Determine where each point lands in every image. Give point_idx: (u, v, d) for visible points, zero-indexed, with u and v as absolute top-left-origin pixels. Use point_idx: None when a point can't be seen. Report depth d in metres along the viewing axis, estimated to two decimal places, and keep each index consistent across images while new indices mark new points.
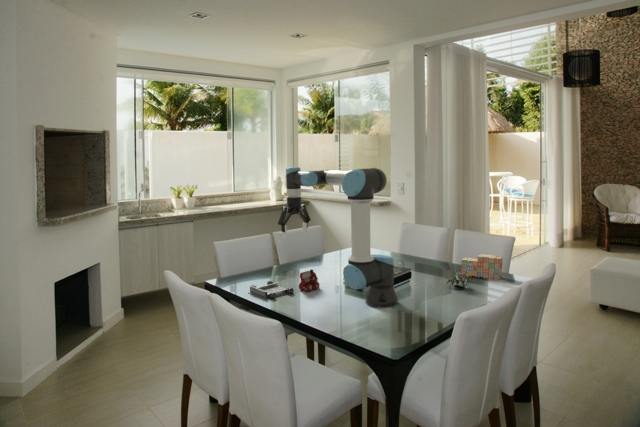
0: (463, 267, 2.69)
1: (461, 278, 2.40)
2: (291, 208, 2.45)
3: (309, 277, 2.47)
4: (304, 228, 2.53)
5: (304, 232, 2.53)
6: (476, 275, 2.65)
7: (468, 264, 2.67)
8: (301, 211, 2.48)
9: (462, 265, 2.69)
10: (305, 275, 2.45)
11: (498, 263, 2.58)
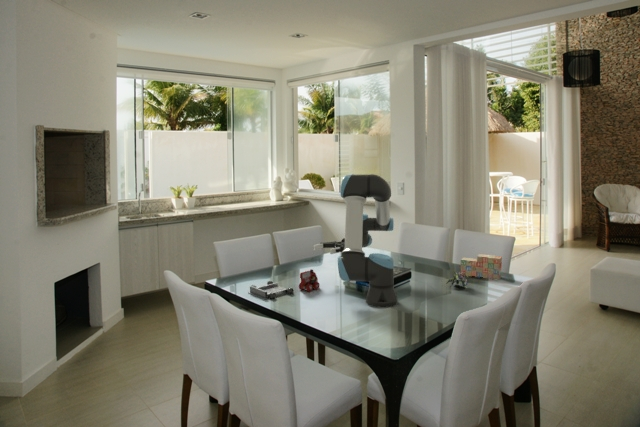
0: (462, 267, 2.69)
1: (461, 278, 2.40)
2: None
3: (309, 277, 2.47)
4: None
5: None
6: (475, 275, 2.65)
7: (468, 264, 2.67)
8: (343, 243, 2.58)
9: (461, 265, 2.69)
10: (305, 275, 2.45)
11: (497, 263, 2.58)
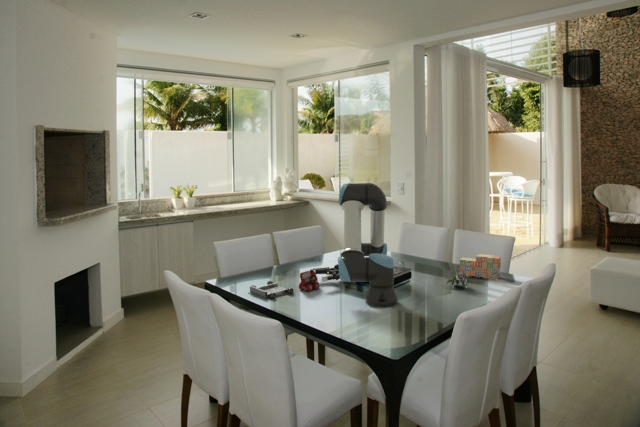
0: (461, 267, 2.69)
1: (461, 278, 2.40)
2: None
3: (309, 277, 2.47)
4: None
5: None
6: (474, 275, 2.66)
7: (467, 264, 2.67)
8: (336, 270, 2.56)
9: (460, 265, 2.69)
10: (305, 275, 2.45)
11: (496, 263, 2.58)
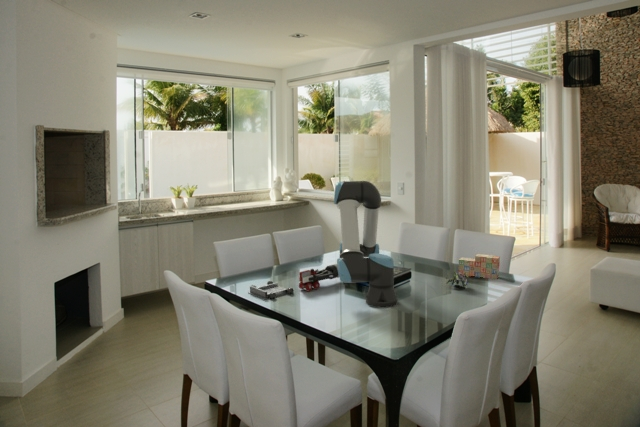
0: (460, 267, 2.69)
1: (461, 278, 2.40)
2: (323, 270, 2.57)
3: None
4: None
5: None
6: (473, 275, 2.66)
7: (466, 264, 2.67)
8: (324, 272, 2.52)
9: (459, 265, 2.69)
10: (305, 274, 2.45)
11: (495, 263, 2.59)
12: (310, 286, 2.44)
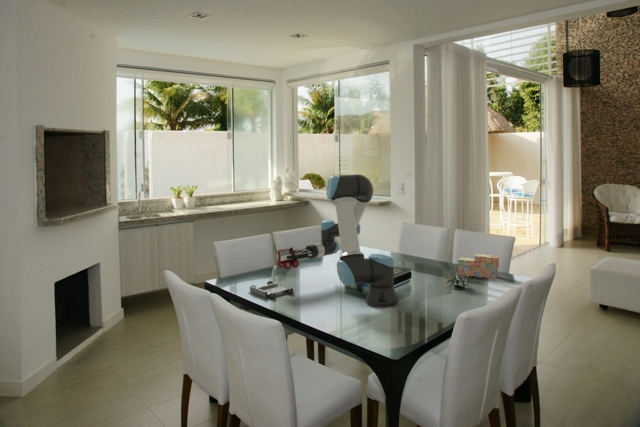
0: (460, 267, 2.69)
1: (461, 278, 2.40)
2: None
3: None
4: None
5: None
6: (473, 275, 2.66)
7: (465, 264, 2.67)
8: (303, 251, 2.50)
9: (459, 265, 2.69)
10: (283, 252, 2.43)
11: (495, 262, 2.59)
12: (288, 264, 2.43)
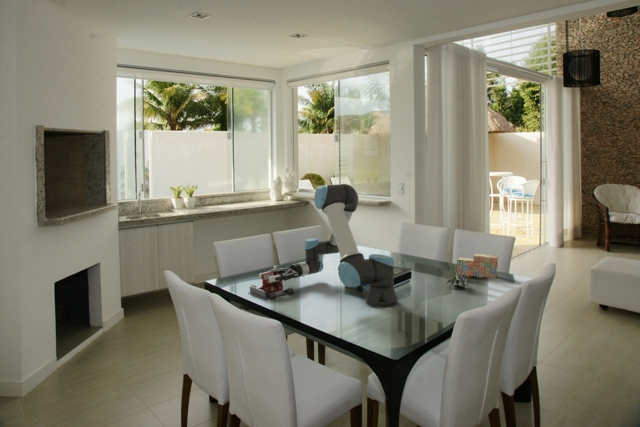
0: (459, 267, 2.69)
1: (461, 278, 2.40)
2: None
3: None
4: None
5: None
6: (472, 275, 2.66)
7: (464, 264, 2.67)
8: (289, 270, 2.47)
9: (458, 265, 2.69)
10: (267, 276, 2.41)
11: (494, 262, 2.60)
12: (272, 288, 2.41)
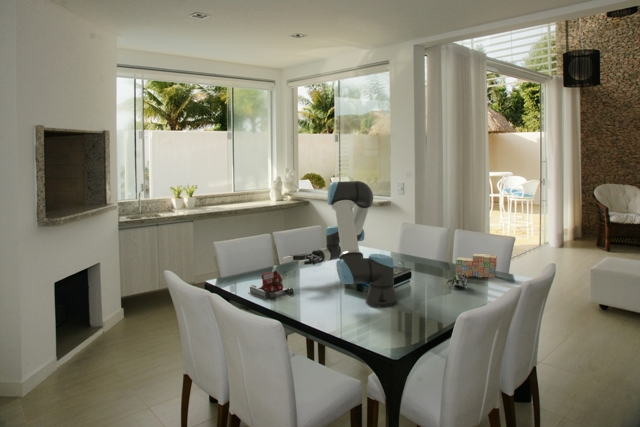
0: (458, 267, 2.69)
1: (461, 278, 2.40)
2: None
3: (272, 278, 2.43)
4: None
5: None
6: (471, 274, 2.67)
7: (463, 264, 2.68)
8: (313, 255, 2.57)
9: (457, 265, 2.69)
10: (267, 276, 2.41)
11: (493, 262, 2.60)
12: (272, 288, 2.41)
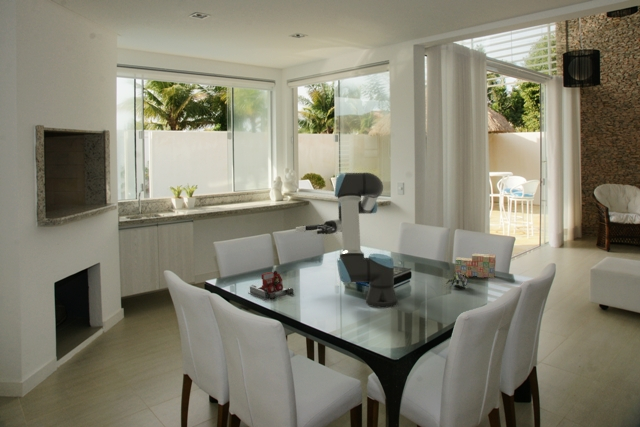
0: (457, 267, 2.69)
1: (461, 278, 2.40)
2: None
3: (272, 278, 2.43)
4: None
5: None
6: (470, 274, 2.67)
7: (463, 264, 2.68)
8: (326, 226, 2.57)
9: (456, 265, 2.69)
10: (267, 276, 2.41)
11: (493, 262, 2.61)
12: (272, 288, 2.41)
